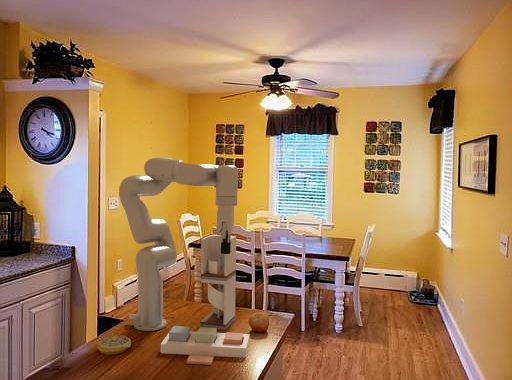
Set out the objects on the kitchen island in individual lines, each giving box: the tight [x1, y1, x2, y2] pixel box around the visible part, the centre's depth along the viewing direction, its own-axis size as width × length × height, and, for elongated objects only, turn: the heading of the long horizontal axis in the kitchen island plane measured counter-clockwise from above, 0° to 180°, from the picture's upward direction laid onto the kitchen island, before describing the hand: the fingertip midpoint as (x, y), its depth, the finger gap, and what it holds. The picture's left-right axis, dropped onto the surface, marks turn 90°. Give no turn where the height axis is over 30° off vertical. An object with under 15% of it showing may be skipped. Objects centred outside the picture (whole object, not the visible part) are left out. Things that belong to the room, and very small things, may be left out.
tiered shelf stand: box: [199, 234, 237, 331], centre depth 172 cm, size 11×11×35 cm
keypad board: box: [160, 330, 251, 359], centre depth 149 cm, size 29×12×3 cm, turn 85°
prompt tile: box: [186, 354, 215, 366], centre depth 139 cm, size 8×5×1 cm, turn 85°
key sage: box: [196, 327, 218, 343], centre depth 149 cm, size 6×6×3 cm
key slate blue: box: [168, 325, 191, 342], centre depth 150 cm, size 6×6×3 cm
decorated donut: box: [97, 335, 132, 356], centre depth 147 cm, size 10×11×4 cm
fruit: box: [247, 311, 270, 333], centre depth 166 cm, size 8×8×8 cm
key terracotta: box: [224, 331, 244, 345], centre depth 148 cm, size 6×6×3 cm
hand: (225, 253), depth 149 cm, fingers closed
